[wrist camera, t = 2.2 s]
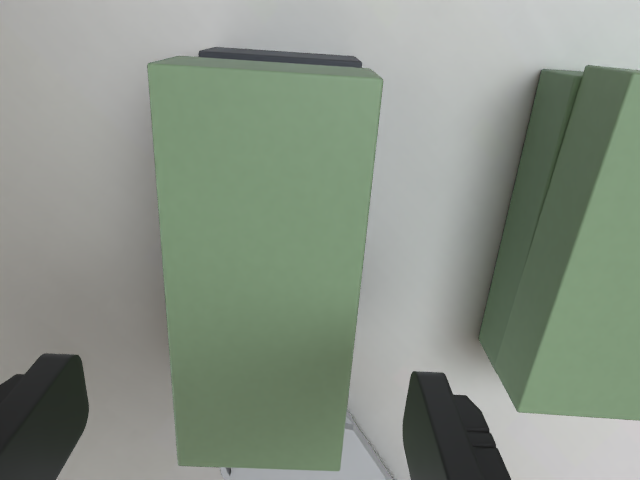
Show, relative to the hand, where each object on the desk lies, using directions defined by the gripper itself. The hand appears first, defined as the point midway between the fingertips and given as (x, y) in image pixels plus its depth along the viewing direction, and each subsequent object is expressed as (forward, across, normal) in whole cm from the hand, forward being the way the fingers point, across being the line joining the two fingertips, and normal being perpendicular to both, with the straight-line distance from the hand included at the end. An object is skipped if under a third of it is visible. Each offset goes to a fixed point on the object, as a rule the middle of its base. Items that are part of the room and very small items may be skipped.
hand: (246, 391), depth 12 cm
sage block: (+7, 0, 0) cm, 7 cm away
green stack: (+13, -14, 0) cm, 19 cm away
